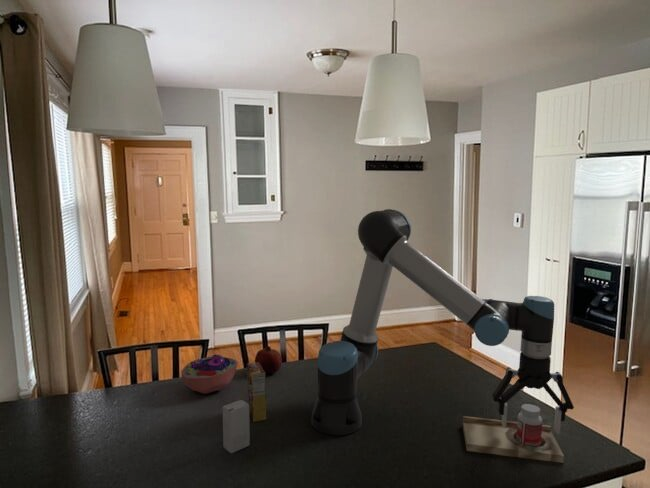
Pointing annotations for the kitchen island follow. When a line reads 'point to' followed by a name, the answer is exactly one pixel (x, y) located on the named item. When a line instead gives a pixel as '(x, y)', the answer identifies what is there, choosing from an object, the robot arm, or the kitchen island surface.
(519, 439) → the pill bottle
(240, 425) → the skincare box
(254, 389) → the candy box
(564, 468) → the kitchen island surface
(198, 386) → the cell model
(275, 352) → the fruit
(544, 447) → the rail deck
